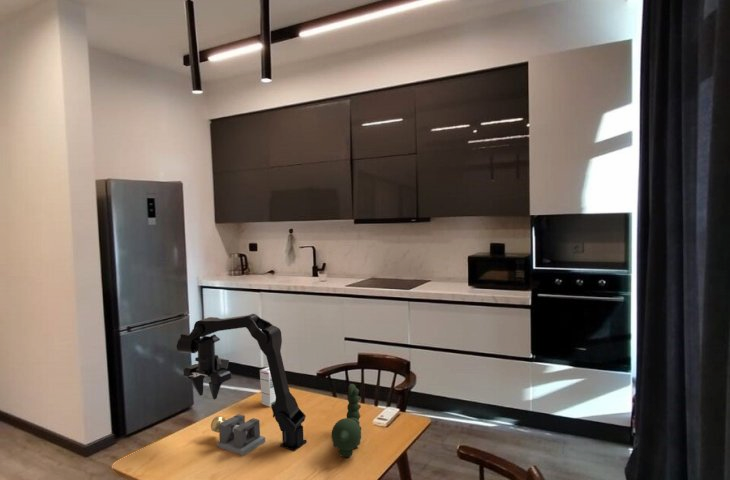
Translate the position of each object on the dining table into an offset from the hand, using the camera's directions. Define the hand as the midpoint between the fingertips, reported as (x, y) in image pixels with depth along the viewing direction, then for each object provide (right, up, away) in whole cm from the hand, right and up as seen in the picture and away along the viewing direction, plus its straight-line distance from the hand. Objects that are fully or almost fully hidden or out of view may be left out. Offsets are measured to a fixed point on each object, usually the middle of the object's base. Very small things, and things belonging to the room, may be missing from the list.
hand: (208, 397), depth 152 cm
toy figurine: (+51, -12, -10) cm, 53 cm away
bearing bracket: (+14, -13, -8) cm, 21 cm away
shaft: (+10, -11, -6) cm, 16 cm away
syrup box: (+17, -12, +25) cm, 33 cm away
